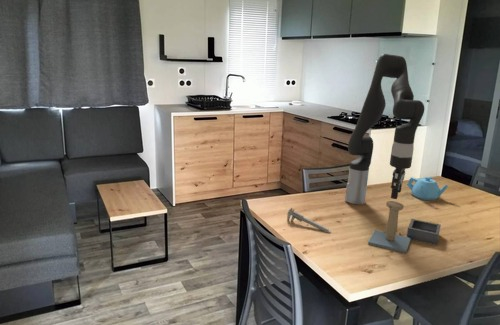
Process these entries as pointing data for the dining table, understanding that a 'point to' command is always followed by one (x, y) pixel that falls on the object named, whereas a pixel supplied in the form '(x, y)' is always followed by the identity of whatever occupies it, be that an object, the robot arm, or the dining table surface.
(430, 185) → the teapot
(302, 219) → the caliper
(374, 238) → the rubber mat
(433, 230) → the socket block
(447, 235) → the dining table surface
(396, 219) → the handle
